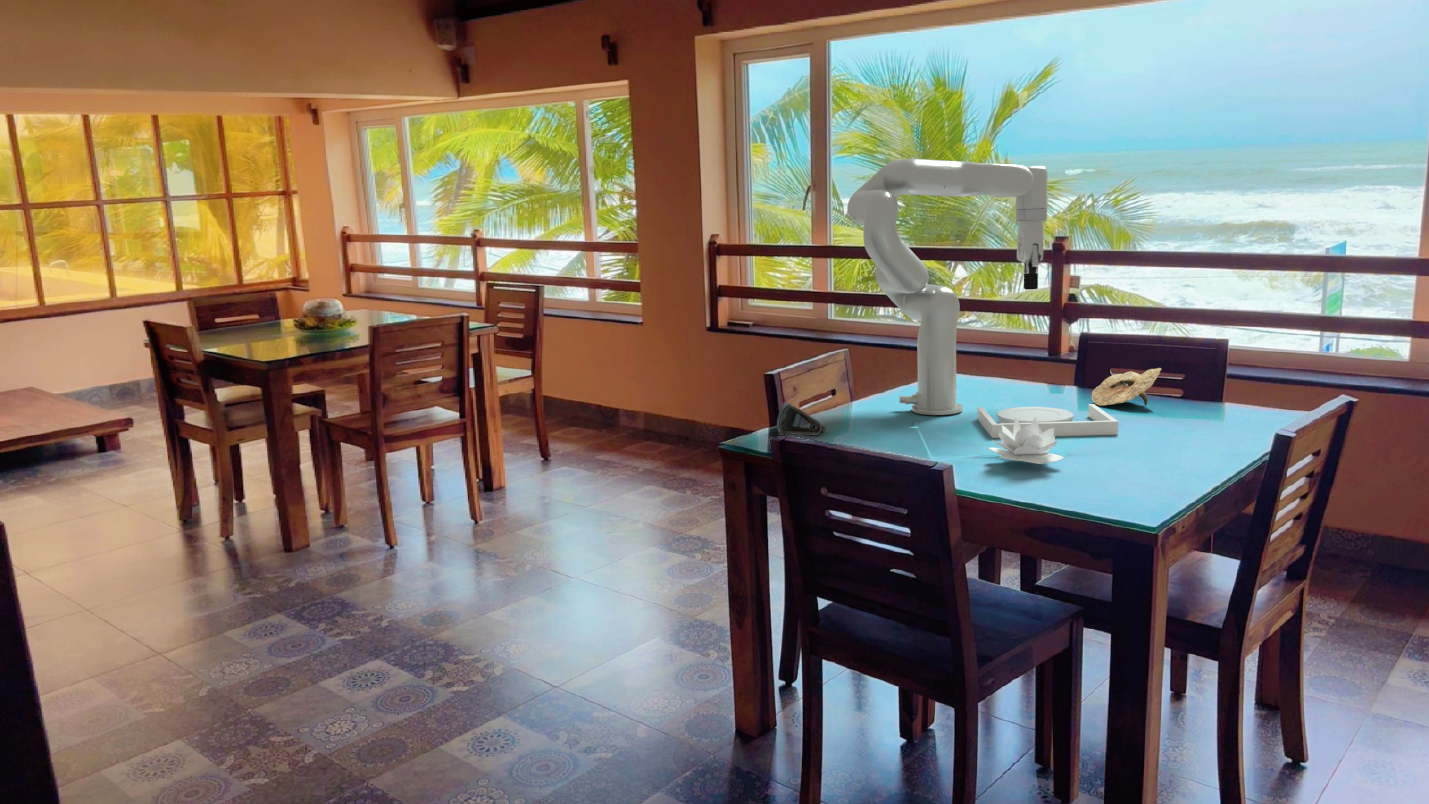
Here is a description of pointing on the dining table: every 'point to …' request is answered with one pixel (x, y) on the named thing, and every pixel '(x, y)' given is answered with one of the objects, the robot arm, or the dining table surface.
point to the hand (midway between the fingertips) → (1030, 288)
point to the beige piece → (1124, 387)
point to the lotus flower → (1027, 444)
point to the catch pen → (1059, 424)
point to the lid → (1034, 415)
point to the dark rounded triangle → (797, 421)
